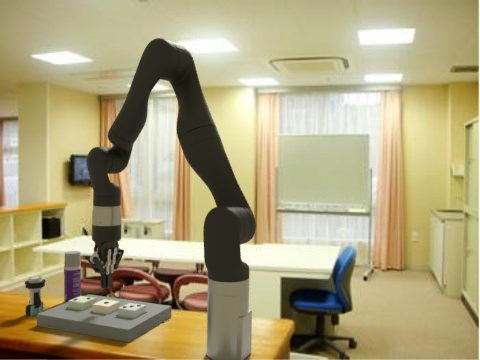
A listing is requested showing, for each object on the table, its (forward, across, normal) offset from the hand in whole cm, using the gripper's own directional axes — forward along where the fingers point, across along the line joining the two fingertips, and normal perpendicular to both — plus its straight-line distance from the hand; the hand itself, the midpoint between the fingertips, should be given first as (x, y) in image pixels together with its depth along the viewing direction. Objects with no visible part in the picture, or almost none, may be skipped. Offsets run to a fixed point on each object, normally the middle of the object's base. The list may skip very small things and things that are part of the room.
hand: (106, 287), depth 124 cm
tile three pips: (+6, 0, -8) cm, 10 cm away
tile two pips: (+7, 0, +8) cm, 10 cm away
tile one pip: (+7, 0, 0) cm, 7 cm away
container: (+9, +10, +20) cm, 24 cm away
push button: (+9, -2, +22) cm, 24 cm away
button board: (+9, 0, 0) cm, 9 cm away
